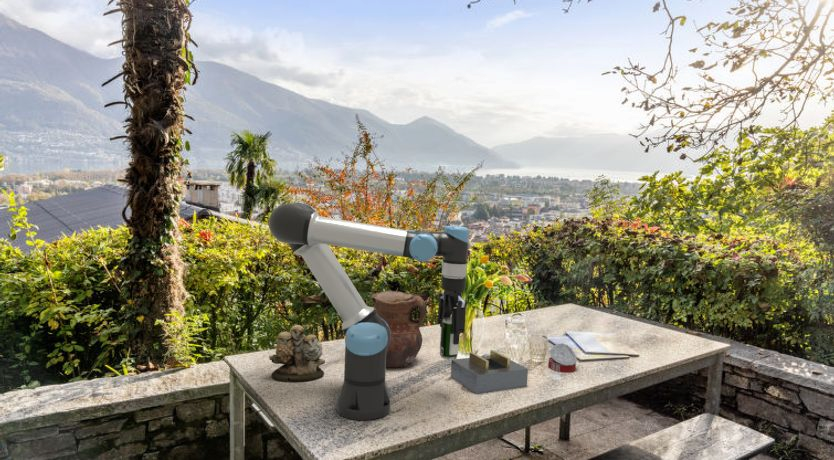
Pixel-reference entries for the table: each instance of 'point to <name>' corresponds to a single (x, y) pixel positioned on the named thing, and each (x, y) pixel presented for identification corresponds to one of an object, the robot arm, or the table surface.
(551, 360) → the canned food
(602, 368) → the table surface
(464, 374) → the grey fixture block
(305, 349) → the owl figurine
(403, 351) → the jug
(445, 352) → the beer can
